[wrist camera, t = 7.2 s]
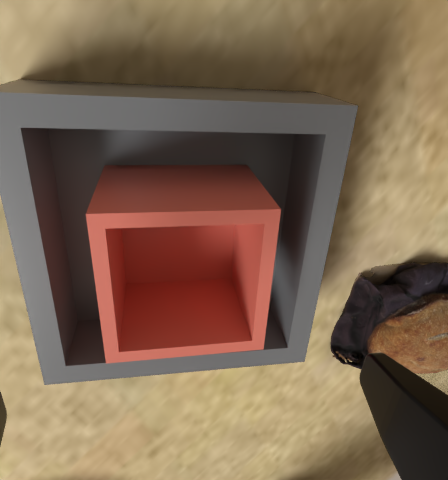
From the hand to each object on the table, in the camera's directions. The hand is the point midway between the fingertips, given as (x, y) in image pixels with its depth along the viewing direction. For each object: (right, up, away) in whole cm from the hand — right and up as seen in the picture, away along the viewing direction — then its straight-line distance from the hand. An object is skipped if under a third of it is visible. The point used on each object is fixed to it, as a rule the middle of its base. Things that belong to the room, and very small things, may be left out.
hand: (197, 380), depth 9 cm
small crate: (-1, +4, +8) cm, 9 cm away
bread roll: (+13, -1, +15) cm, 20 cm away
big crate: (-2, +4, +9) cm, 10 cm away
